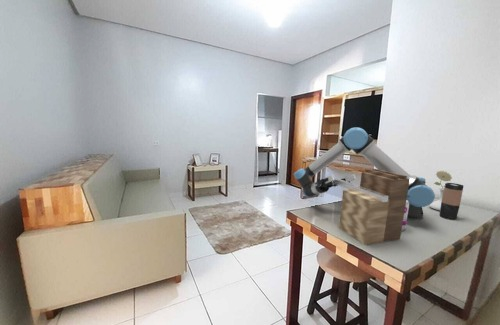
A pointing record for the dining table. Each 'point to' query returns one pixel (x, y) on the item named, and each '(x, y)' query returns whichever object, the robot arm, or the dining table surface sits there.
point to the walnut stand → (375, 208)
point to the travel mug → (451, 201)
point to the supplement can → (405, 215)
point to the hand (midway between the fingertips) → (344, 176)
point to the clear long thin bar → (361, 190)
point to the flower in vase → (443, 177)
